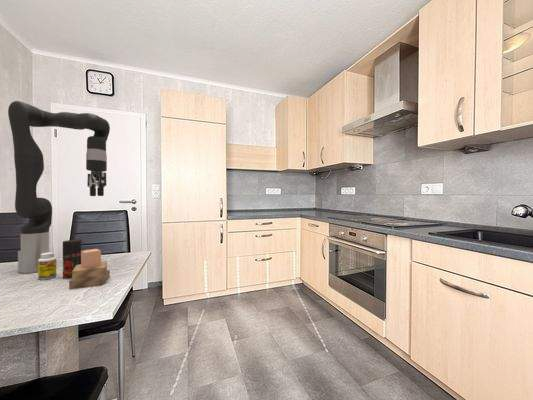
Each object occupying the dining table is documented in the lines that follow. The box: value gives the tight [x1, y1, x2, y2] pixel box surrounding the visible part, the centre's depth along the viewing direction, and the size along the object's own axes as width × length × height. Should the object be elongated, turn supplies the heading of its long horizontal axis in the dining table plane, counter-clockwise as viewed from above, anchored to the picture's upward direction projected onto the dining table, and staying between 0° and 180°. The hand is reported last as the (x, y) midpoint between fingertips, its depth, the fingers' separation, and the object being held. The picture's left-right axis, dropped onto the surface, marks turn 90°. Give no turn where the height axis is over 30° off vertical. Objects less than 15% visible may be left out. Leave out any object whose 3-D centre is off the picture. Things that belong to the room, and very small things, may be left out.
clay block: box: [81, 248, 102, 269], centre depth 90 cm, size 5×5×6 cm
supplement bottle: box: [37, 251, 57, 281], centre depth 95 cm, size 6×6×10 cm
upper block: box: [72, 260, 108, 281], centre depth 90 cm, size 10×10×4 cm
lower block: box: [68, 269, 111, 290], centre depth 90 cm, size 10×10×4 cm
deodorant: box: [62, 239, 82, 280], centre depth 97 cm, size 6×6×15 cm
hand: (96, 196), depth 105 cm, fingers open, 8 cm apart
